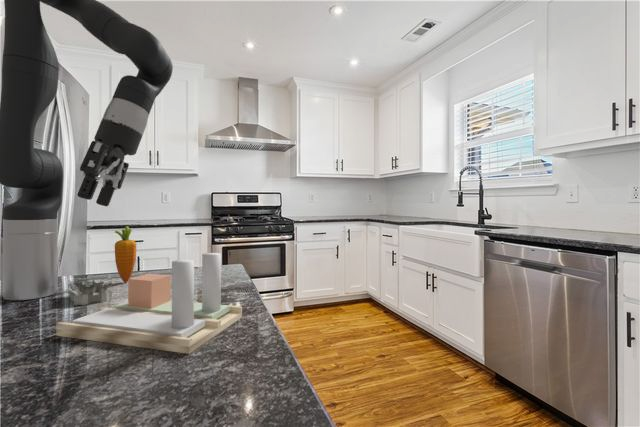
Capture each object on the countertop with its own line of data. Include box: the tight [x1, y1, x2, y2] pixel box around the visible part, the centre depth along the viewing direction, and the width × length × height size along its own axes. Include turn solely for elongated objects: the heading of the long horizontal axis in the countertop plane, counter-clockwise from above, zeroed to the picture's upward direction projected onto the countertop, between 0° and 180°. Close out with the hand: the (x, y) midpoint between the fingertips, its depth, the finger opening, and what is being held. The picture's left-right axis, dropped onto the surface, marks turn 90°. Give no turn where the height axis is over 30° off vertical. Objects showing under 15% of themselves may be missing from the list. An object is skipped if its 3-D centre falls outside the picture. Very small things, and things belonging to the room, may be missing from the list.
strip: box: [72, 259, 205, 337], centre depth 53 cm, size 20×6×11 cm, turn 76°
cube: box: [127, 273, 171, 309], centre depth 62 cm, size 5×5×5 cm
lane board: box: [56, 301, 243, 355], centre depth 57 cm, size 24×16×2 cm, turn 76°
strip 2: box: [114, 252, 231, 319], centre depth 61 cm, size 20×6×11 cm, turn 76°
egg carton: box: [67, 279, 113, 306], centre depth 73 cm, size 11×8×4 cm
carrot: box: [114, 225, 137, 284], centre depth 87 cm, size 5×5×15 cm
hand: (93, 202), depth 64 cm, fingers open, 8 cm apart
